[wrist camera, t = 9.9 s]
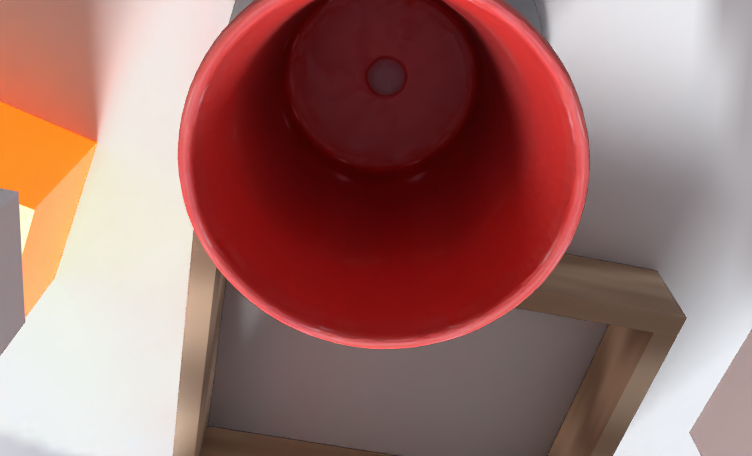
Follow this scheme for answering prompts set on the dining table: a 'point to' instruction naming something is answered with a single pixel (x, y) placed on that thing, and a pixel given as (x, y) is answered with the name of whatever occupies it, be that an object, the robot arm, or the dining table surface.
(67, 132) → the orange juice
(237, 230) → the flower pot
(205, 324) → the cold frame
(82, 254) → the dining table surface
